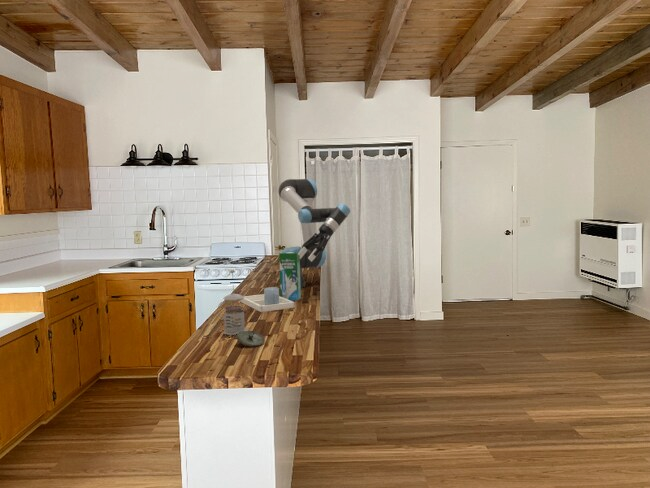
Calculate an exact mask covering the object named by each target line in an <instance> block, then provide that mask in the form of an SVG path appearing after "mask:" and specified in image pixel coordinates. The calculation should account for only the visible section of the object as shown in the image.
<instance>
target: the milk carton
mask: <svg viewBox="0 0 650 488" xmlns="http://www.w3.org/2000/svg"><path fill="white" fill-rule="evenodd" d="M278 258H279V259H278V260H279V293H280V297H283V298H285V299H288V300H290V301H299V300H300V299H302V290H301V289H302V288H301V284H300V256H299V255H298V254H297V253H294V252H286V253H282V252H281V253H279V255H278Z"/></svg>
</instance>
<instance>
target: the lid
mask: <svg viewBox="0 0 650 488" xmlns="http://www.w3.org/2000/svg"><path fill="white" fill-rule="evenodd" d="M235 338H236V340H237V341H238V343H240V344H242V345H243V346H246V347H249V348H250V347H251V348H252V347H253V348H254V347H260V346H262V345H263V344H264V343H265V337H264V336H263V335H262V334H261V333H259V332H257V331H254V330H247V331H241V332H239V333H237V335H235Z"/></svg>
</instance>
